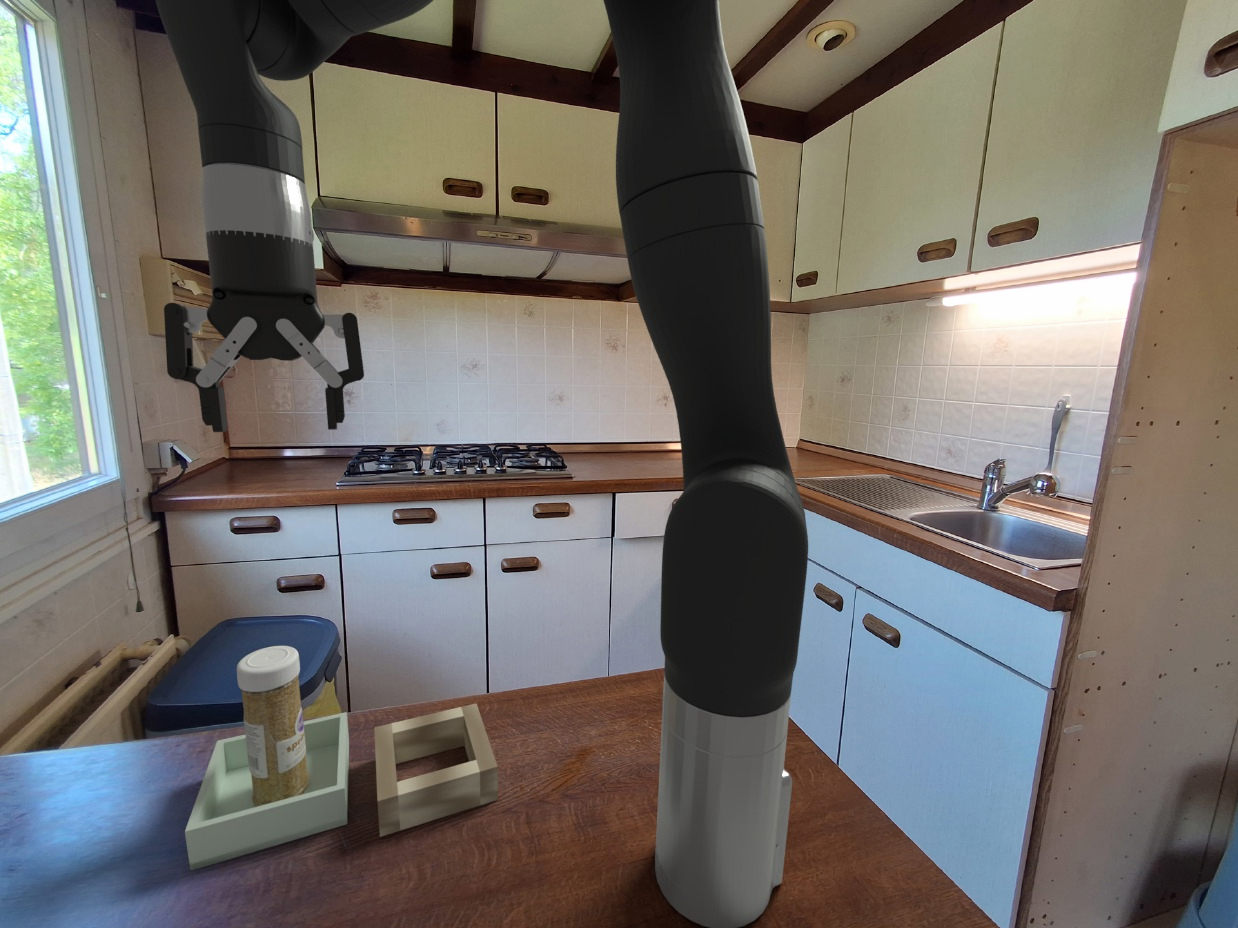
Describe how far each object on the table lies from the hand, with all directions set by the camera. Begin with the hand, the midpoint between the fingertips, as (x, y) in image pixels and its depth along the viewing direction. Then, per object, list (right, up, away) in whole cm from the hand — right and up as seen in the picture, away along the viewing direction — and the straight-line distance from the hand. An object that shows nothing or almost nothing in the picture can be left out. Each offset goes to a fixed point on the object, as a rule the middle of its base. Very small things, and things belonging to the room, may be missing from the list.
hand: (279, 429), depth 49 cm
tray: (-1, -33, +1) cm, 34 cm away
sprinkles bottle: (-1, -33, +1) cm, 33 cm away
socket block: (+12, -33, +4) cm, 36 cm away
